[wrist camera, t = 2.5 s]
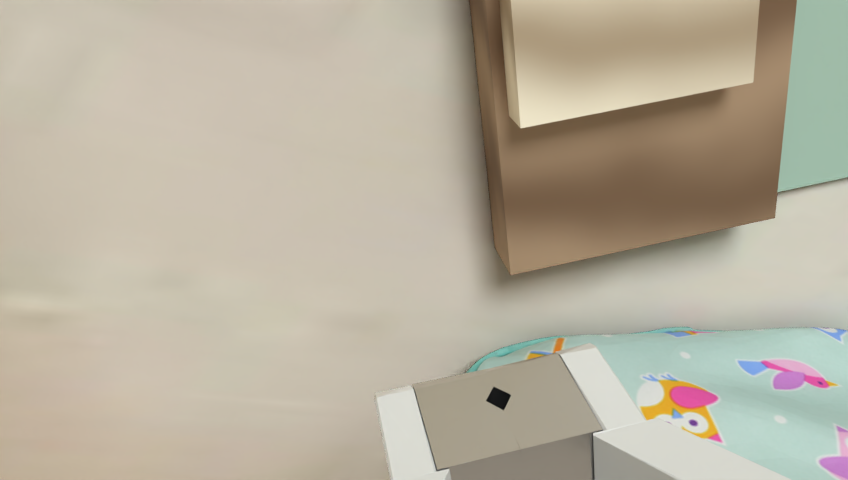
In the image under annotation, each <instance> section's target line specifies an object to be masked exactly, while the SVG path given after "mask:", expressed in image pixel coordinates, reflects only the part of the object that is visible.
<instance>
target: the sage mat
mask: <svg viewBox="0 0 848 480" xmlns="http://www.w3.org/2000/svg"><path fill="white" fill-rule="evenodd" d="M846 177H848V0H797V6H796V15H795V25H794V35H793V45H792V55H791V64H790V74H789V84H788V94H787V104H786V113H785V123H784V133H783V143H782V153H781V162H780V172H779V182H778V192H781V191H785V190H790V189H795V188H799V187H804V186H809V185H813V184H818V183H823V182H827V181H832V180H837V179H842V178H846Z"/></svg>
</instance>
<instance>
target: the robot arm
mask: <svg viewBox="0 0 848 480" xmlns="http://www.w3.org/2000/svg"><path fill="white" fill-rule="evenodd" d="M375 405H376V410H377V415H378V420H379V425H380V430H381V435H382V440H383V445H384V450H385V455H386V460H387V465H388V470H389V475H390V480H791V479H789V478H787V477H785V476H783V475H781V474H778V473H776V472H774V471H772V470H770V469H767V468H765V467H763V466H761V465H759V464H757V463H754V462H752V461H750V460H748V459H746V458H744V457H741V456H739V455H737V454H735V453H733V452H731V451H728V450H726V449H724V448H722V447H720V446H718V445H715V444H713V443H711V442H709V441H707V440H704V439H702V438H700V437H698V436H696V435H694V434H691V433H689V432H687V431H685V430H683V429H681V428H678V427H676V426H674V425H672V424H670V423H668V422H665V421H663V420H661V419H659V418H655V419H651V420H646V419H645V417H644V416H643V414H642V413H641V411H640V410H639V408H638V407H637V405H636V404H635V402H634V401H633V399H632V398H631V397H630V395H629V394H628V392H627V391H626V389H625V388H624V386H623V385H622V383H621V382H620V380H619V379H618V377H617V376H616V375H615V373H614V372H613V370H612V369H611V367H610V366H609V364H608V363H607V361H606V360H605V358H604V357H603V355H602V354H601V353H600V351H599V350H598V348H597V347H596V346H595V345H593V344H591V343H588V344H584V345H580V346H576V347H572V348H568V349H564V350H560V351H556V352H555V353H553V354H548V355H544V356H540V357H535V358H531V359H527V360H523V361H519V362H514V363H510V364H506V365H502V366H498V367H493V368H489V369H484V370H479V371H474V372H469V373H464V374H460V375H455V376H450V377H445V378H440V379H436V380H431V381H426V382H421V383H416V384H413V388H412V386H410V385H409V386H404V387H400V388H395V389H390V390H386V391H381V392H377V393H375Z"/></svg>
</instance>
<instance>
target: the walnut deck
mask: <svg viewBox="0 0 848 480" xmlns="http://www.w3.org/2000/svg"><path fill="white" fill-rule="evenodd" d="M796 6H797V0H760V4H759V16H758V29H757V42H756V55H755V67H754V80H753V83H749V84H744V85H738V86H733V87H728V88H723V89H718V90H713V91H708V92H703V93H698V94H693V95H688V96H683V97H678V98H673V99H668V100H662V101H657V102H652V103H647V104H642V105H637V106H632V107H627V108H622V109H617V110H612V111H607V112H602V113H597V114H591V115H586V116H581V117H576V118H571V119H566V120H561V121H556V122H551V123H546V124H541V125H536V126H531V127H526V128H520V127H519V126H518V125H517V124H516V123H515V122H514V121H513V120H512V119H511V117H510V116H509V111H508V99H507V87H506V75H505V63H504V51H503V40H502V28H501V16H500V4H499V0H470V10H471V20H472V30H473V39H474V49H475V59H476V69H477V78H478V88H479V98H480V108H481V118H482V127H483V137H484V147H485V157H486V166H487V176H488V186H489V196H490V205H491V215H492V225H493V235H494V245H495V249H496V251H497V253H498V254H499V256H500V258H501V259H502V261H503V263H504V265H505V266H506V268H507V270H508V272H509V273H510V275H514V274H519V273H523V272H528V271H533V270H537V269H542V268H547V267H551V266H556V265H560V264H565V263H570V262H574V261H579V260H583V259H588V258H593V257H597V256H602V255H606V254H611V253H616V252H620V251H625V250H629V249H634V248H639V247H643V246H648V245H652V244H657V243H662V242H666V241H671V240H675V239H680V238H685V237H689V236H694V235H698V234H703V233H708V232H712V231H717V230H721V229H726V228H731V227H735V226H740V225H744V224H749V223H754V222H758V221H763V220H768V219H772V218H775V211H776V202H777V192H778V182H779V172H780V162H781V153H782V143H783V133H784V123H785V113H786V104H787V94H788V84H789V74H790V64H791V55H792V45H793V35H794V25H795V15H796Z"/></svg>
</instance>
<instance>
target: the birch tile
mask: <svg viewBox="0 0 848 480" xmlns="http://www.w3.org/2000/svg"><path fill="white" fill-rule="evenodd" d="M499 4H500V16H501V28H502V40H503V51H504V63H505V75H506V87H507V99H508V111H509V116H510V117H511V119H512V120H513V121H514V122H515V123H516V124H517V125H518V126H519V127H520V128H526V127H531V126H536V125H541V124H546V123H551V122H556V121H561V120H566V119H571V118H576V117H581V116H586V115H591V114H597V113H602V112H607V111H612V110H617V109H622V108H627V107H632V106H637V105H642V104H647V103H652V102H657V101H662V100H668V99H673V98H678V97H683V96H688V95H693V94H698V93H703V92H708V91H713V90H718V89H723V88H728V87H733V86H738V85H744V84H749V83H753V80H754V67H755V55H756V42H757V29H758V16H759V4H760V0H499Z"/></svg>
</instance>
